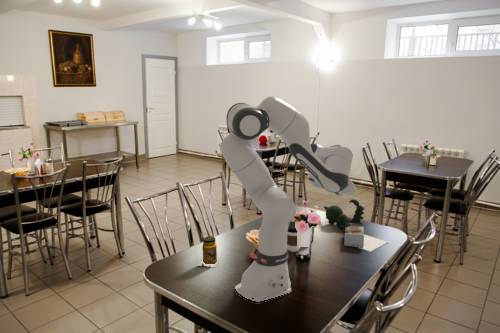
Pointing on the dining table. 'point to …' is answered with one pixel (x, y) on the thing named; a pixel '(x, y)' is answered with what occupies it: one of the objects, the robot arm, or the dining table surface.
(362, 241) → the coffee box
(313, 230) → the food container
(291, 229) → the coffee cup
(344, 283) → the dining table surface
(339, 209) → the toy figurine
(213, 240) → the condiment
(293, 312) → the dining table surface
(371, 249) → the mat
